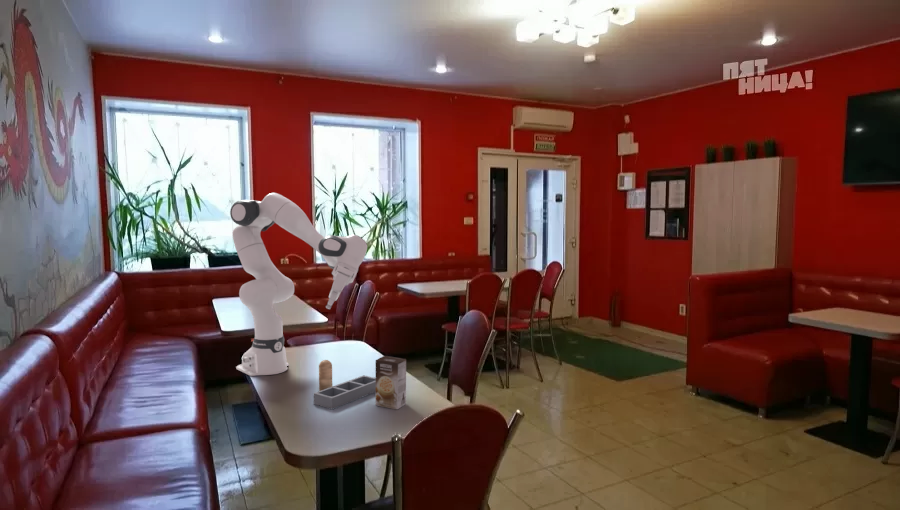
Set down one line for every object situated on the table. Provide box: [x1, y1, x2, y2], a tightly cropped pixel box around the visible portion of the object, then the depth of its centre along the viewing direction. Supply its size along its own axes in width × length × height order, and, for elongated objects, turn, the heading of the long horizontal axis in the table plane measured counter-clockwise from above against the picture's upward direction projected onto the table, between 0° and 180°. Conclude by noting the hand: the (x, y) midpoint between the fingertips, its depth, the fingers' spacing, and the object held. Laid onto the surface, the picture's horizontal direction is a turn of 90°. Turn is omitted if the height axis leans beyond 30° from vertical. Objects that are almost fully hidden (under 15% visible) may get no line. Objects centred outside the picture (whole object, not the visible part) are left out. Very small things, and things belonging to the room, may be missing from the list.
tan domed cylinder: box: [318, 359, 333, 391], centre depth 199 cm, size 5×5×11 cm
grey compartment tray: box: [313, 375, 376, 410], centre depth 193 cm, size 9×25×4 cm, turn 146°
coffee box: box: [375, 355, 407, 410], centre depth 184 cm, size 9×6×16 cm
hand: (328, 306), depth 204 cm, fingers open, 8 cm apart
